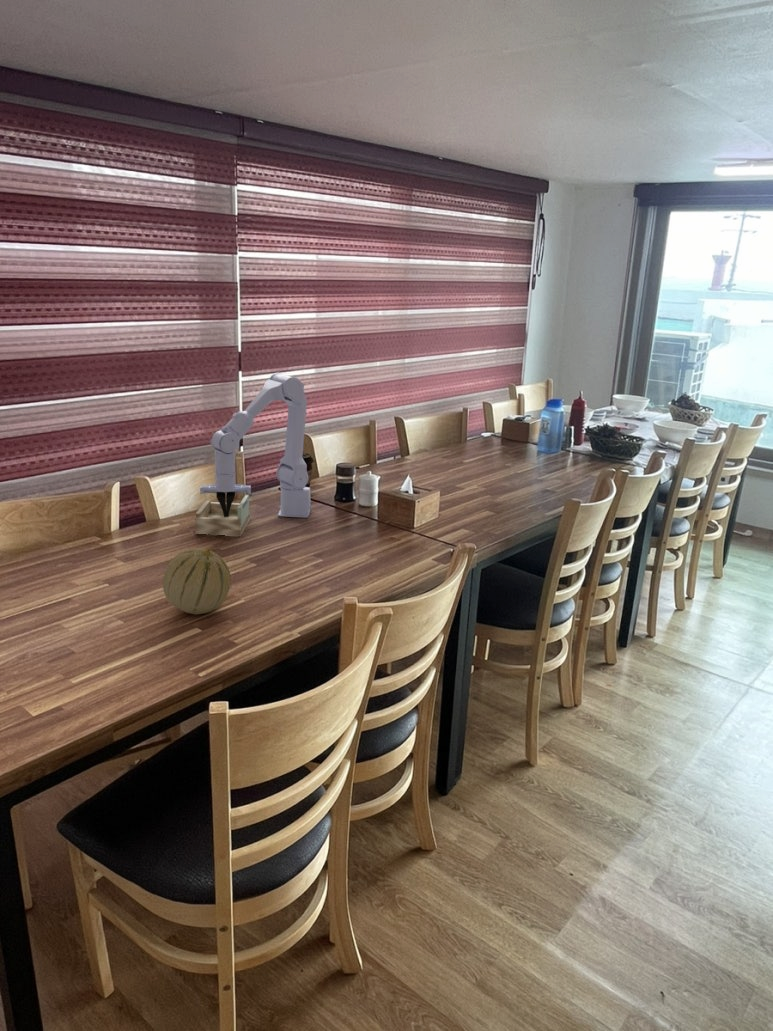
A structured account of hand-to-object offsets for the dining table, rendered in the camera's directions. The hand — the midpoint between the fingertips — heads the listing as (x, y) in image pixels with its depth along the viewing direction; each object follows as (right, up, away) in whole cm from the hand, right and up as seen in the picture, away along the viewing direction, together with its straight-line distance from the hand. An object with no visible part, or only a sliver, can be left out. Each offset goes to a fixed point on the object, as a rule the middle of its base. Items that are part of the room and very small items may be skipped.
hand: (226, 516), depth 215 cm
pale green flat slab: (+5, -2, 0) cm, 6 cm away
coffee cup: (+18, +9, +38) cm, 43 cm away
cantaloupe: (+5, -22, -51) cm, 55 cm away
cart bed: (-1, -3, +1) cm, 4 cm away
